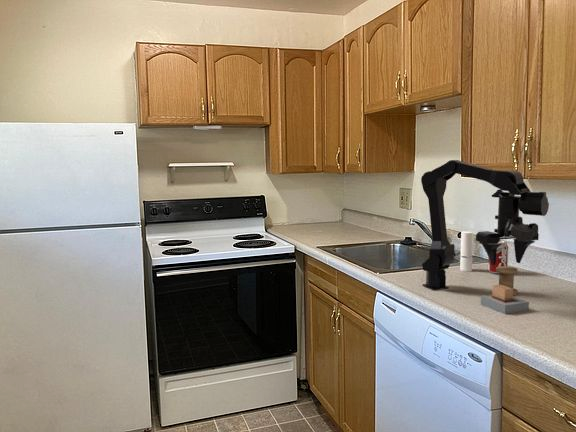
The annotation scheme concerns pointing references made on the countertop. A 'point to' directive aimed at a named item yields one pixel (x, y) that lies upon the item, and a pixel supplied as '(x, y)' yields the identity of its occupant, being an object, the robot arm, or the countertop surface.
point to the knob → (507, 277)
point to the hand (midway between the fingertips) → (505, 263)
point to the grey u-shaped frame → (505, 305)
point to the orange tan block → (502, 293)
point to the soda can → (499, 257)
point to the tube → (466, 251)
